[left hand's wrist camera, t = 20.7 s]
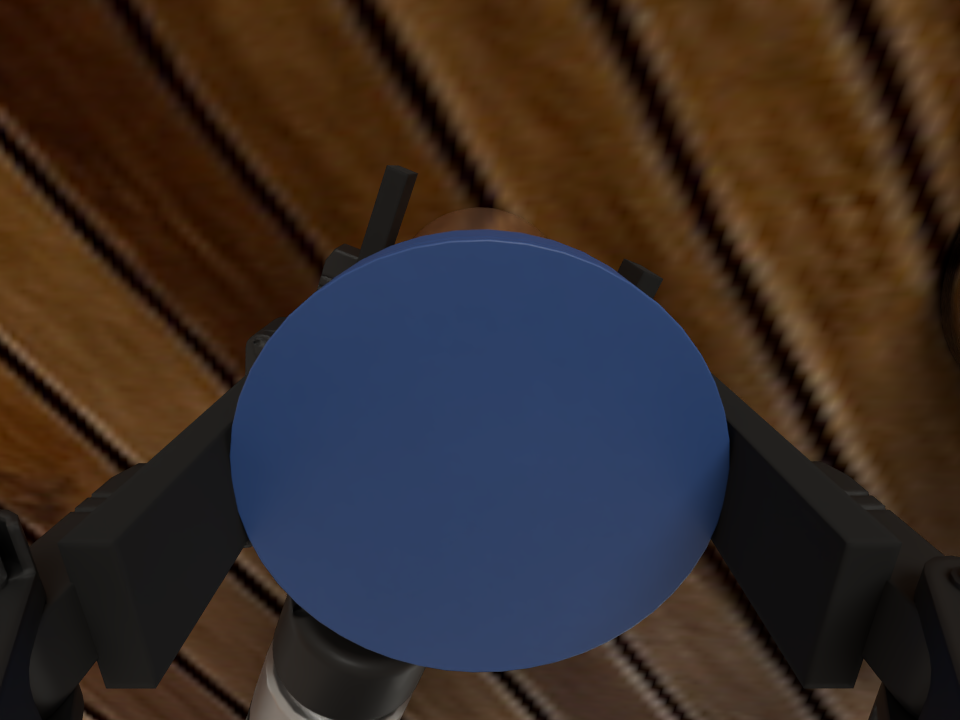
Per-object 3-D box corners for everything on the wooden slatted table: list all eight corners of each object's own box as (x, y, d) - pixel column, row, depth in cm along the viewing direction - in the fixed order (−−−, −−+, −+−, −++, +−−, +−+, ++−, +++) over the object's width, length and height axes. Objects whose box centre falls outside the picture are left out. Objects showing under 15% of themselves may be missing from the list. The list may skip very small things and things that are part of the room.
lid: (773, 493, 12) (813, 537, 11) (438, 673, 14) (433, 732, 13) (541, 119, 10) (552, 110, 8) (167, 406, 12) (120, 441, 10)
